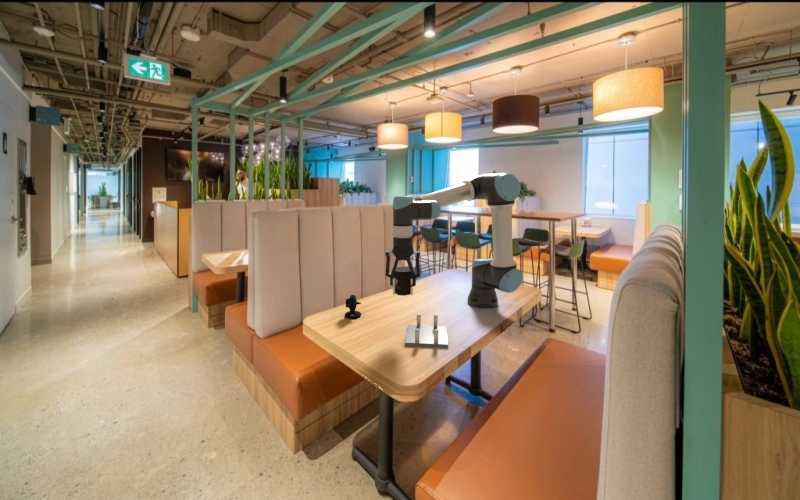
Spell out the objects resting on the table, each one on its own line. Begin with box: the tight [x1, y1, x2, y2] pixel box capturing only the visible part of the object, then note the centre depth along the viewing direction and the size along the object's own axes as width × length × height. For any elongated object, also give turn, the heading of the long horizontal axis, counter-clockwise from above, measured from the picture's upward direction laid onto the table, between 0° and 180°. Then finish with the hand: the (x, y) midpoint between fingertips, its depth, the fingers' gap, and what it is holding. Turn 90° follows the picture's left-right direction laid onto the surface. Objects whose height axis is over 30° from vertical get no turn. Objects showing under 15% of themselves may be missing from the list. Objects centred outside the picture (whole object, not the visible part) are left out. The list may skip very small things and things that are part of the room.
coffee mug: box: [393, 265, 414, 296], centre depth 135 cm, size 12×9×10 cm
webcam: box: [344, 294, 362, 320], centre depth 155 cm, size 8×8×10 cm
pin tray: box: [404, 313, 449, 349], centre depth 134 cm, size 16×17×6 cm
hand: (403, 293), depth 136 cm, fingers closed on coffee mug, 6 cm apart
